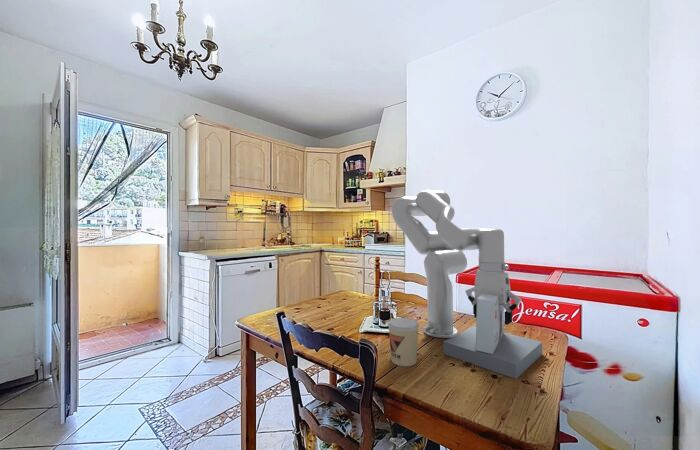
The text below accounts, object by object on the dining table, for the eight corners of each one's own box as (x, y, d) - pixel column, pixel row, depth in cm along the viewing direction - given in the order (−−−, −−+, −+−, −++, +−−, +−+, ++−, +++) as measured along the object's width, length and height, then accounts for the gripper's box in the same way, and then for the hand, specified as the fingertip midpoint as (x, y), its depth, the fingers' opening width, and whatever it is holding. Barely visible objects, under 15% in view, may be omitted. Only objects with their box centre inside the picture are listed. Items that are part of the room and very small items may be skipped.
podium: (516, 379, 83) (516, 364, 82) (443, 353, 99) (443, 341, 99) (542, 354, 97) (542, 341, 97) (475, 335, 114) (475, 325, 114)
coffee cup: (383, 357, 97) (382, 319, 97) (407, 351, 101) (407, 315, 101) (399, 370, 89) (398, 329, 88) (425, 363, 92) (424, 324, 92)
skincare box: (495, 355, 88) (494, 300, 88) (475, 351, 91) (474, 298, 91) (505, 332, 105) (505, 287, 105) (488, 330, 109) (488, 285, 108)
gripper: (525, 268, 94) (525, 323, 94) (471, 263, 107) (471, 312, 107) (515, 271, 89) (516, 329, 89) (460, 265, 102) (461, 316, 102)
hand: (492, 320), depth 98 cm, fingers open, 9 cm apart
